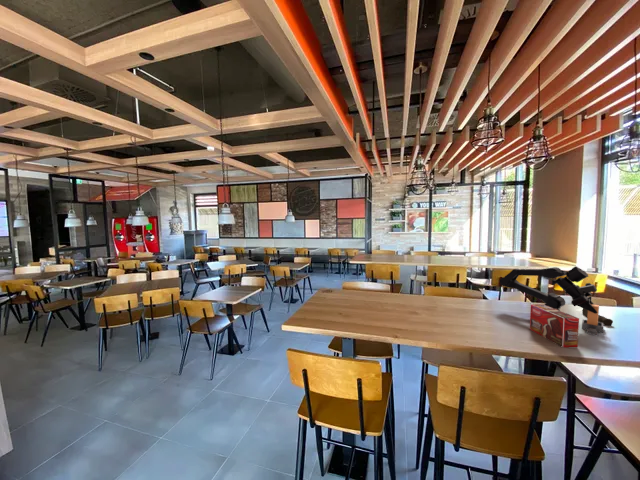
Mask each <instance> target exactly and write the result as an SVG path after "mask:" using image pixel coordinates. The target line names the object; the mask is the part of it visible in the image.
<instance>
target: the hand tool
mask: <svg viewBox="0 0 640 480" xmlns="http://www.w3.org/2000/svg"><path fill="white" fill-rule="evenodd" d="M581 312H582V313H581V314H582V315H583V316H584V315H585V316H584V317H586V318H587V316H588V310H586V309H584V308H582V310H581ZM598 322H600V323H603V326H608V327H610V326H613V322H614V321H613V320H612V319H611V318H607V317H606V316H604V315H600V314H598Z"/></svg>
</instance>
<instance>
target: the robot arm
mask: <svg viewBox="0 0 640 480" xmlns="http://www.w3.org/2000/svg"><path fill="white" fill-rule="evenodd" d="M519 276H531V277H532V276H533V277H534V276H535V277H537V276H539V277H543V278H547V279H548V278H549V279H552V280H551V281H552V282H551V285H552V286H555V284H556V285H558V286H559V287H560V288H561V289H562V291H564V293H565V294H567V295H568V296H569V297H570V298H571V305H573V306H574V307H579V308H581V309H583V308H584V309H586V310H588V311H591V312H593V313H595V314H596V313H597V311H596V310H595V309H594V307H593V306H592V305H591V304H594V302H593V301H592V299H593V298H592V297H593V296H592V295H593V294H592V293H596V292H597V291H598V289H597V287H596V285H595V284H593V283H590V282H588V283H585V285H584V286H580V285H579V284H578V285H577V284H575V283H579V282H580V281H582V280H584V279H586V278H588V277H589V274H588V273H587V272H586V271H585V270H584V269H582V268H580V267H579V266H574V267H572V268H571V269H570V270H568V271H566V270H562V269H561V268H560V267H557V266H553V267H546V268H536V269H535V268H533V269H532V268H514V269H512V270H511V271H510V272H509V273H507V274H506V275H504V276H503V277H501V278H500V279H499V284H500V285H501V286H503V287H506V288H509V289H515V290H518V291H520V292H522V293H524V294H527V295H529V296H531V297H534V298H536V299H539V300H540V301H542V302H543V303H544V304H543V305H546V306H549V307H551V308H554V309H556V310H559V311H561V308H563V307H564V306H565V305H566V299H565V298H564V297H563V296H561V294H559V295H558V294H557V293H555V292H550V293H545V292H543V291H540V290H538V289H536V288H533V287H531V286H528V285H526V284H523V283H521V282H519V281H518V280H517V279H518V277H519ZM556 278H557V279H556Z"/></svg>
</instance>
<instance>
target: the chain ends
mask: <svg viewBox="0 0 640 480" xmlns="http://www.w3.org/2000/svg"><path fill="white" fill-rule="evenodd" d="M581 321H582V322H581V329H583V330H586V334H587V335H591V336H592V335H593V336H596V337H598V333H602V334H604V324H603V323H601V322H599V321H598V325H592V324H587V319H585V318H584V319H583V318H582V320H581Z"/></svg>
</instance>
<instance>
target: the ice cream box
mask: <svg viewBox="0 0 640 480" xmlns="http://www.w3.org/2000/svg"><path fill="white" fill-rule="evenodd" d="M559 310H560V309H559ZM559 310H556V309H554V308H551V307H549V306H546V305H544V304H542V303H541V304H539V303H538V304H534V303H533V304H530V315H529V316H530V317H529V330H530V331H532V332H533V333H535V334H537V335H539V336H541V337H543V338H545V339H547V340H548V341H550V342H552V343H553V342H554V343H553V344H555V343H556V344H555V345H557V344H558V346H559V345H560V346H559V347H561V346H562V347H561V348H569V347H578V346H579V345H578V344H579V327H580V325H579V324H580V317H576V316H574V315H571V314H569V313H566V312H564V311H561V310H560V311H559ZM578 348H579V347H578Z"/></svg>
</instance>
